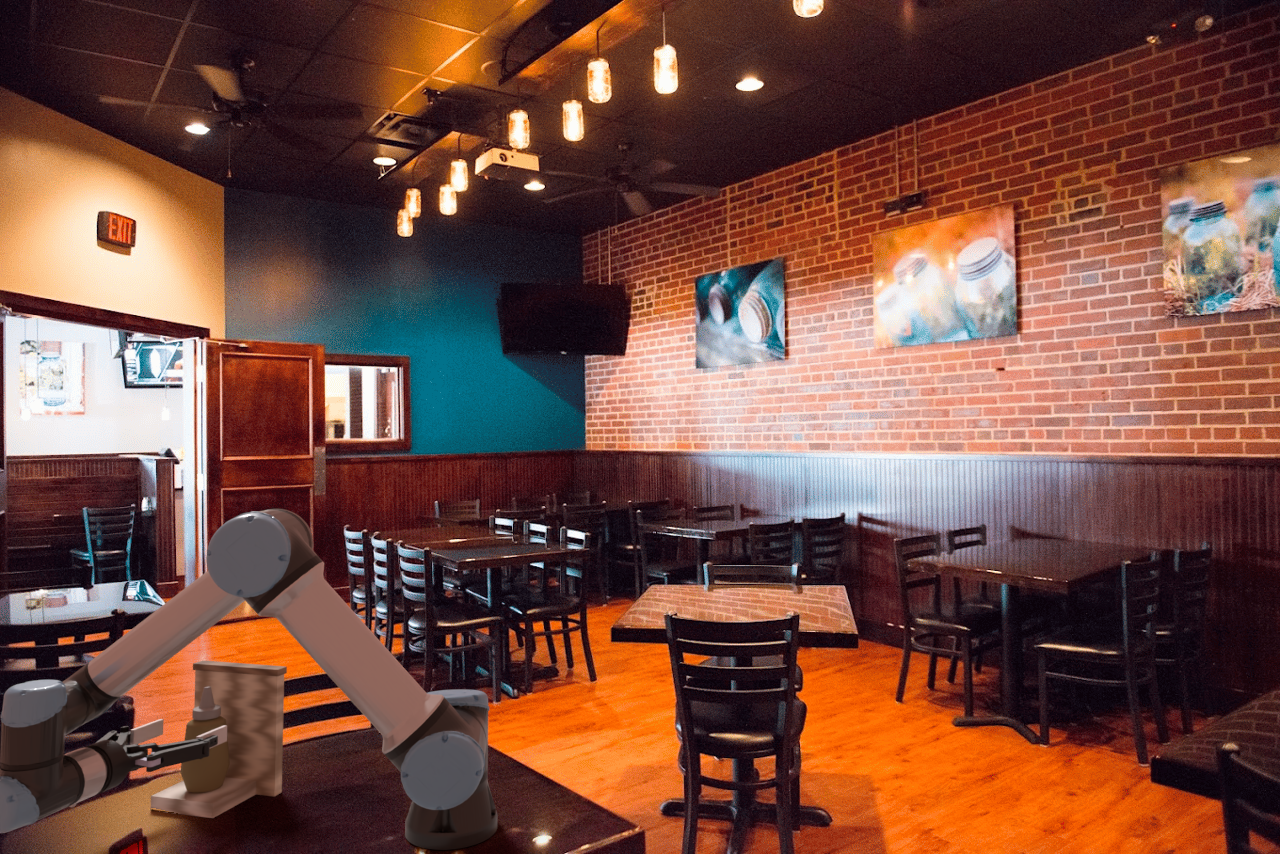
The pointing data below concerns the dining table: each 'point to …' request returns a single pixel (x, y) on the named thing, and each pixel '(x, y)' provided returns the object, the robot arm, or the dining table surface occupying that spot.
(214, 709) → the squeeze bottle
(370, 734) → the dining table surface
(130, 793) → the dining table surface
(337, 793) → the dining table surface
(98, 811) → the dining table surface
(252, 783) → the wooden display stand
